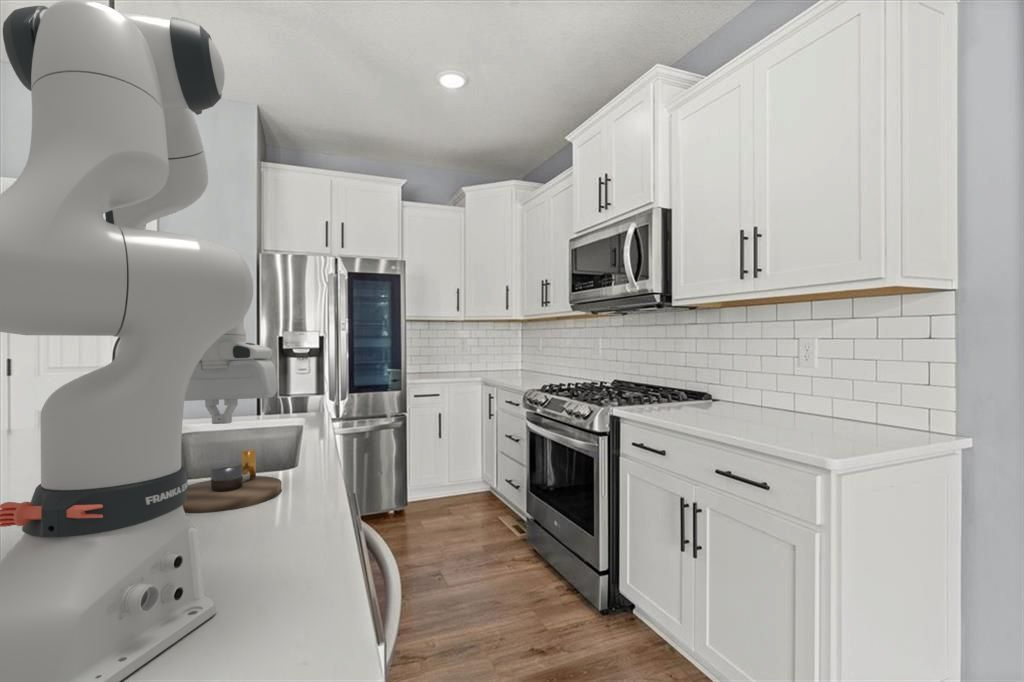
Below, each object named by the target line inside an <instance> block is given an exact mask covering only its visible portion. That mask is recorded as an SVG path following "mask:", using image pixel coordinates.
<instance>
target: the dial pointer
mask: <svg viewBox="0 0 1024 682" xmlns="http://www.w3.org/2000/svg"><path fill="white" fill-rule="evenodd" d="M256 457H257V456H256V449H251V448H250V449H243V450H242V451H241V463H227V464H226V463H225V464H219V465H215V466H212V467H210V480H211V489H212V490H216V491H222V490H230V489H235V488H239V487H241V486H242V485H243V482H244V481H246V480H249V479H252V478H255V477H256V476H257V474H256V473H257V466H256V464H257V463H256V462H257V460H256Z"/></svg>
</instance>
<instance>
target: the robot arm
mask: <svg viewBox="0 0 1024 682" xmlns="http://www.w3.org/2000/svg"><path fill="white" fill-rule="evenodd" d="M2 38H3V43H4V49H5V53H6V57H7V59H8V61H9V63H10V66H11V67H12V69H13V71H14V73H15V75H16V76H17V78H18V80H19V81H20V83H21V84H22V85H23V87H25V88H26V90H28V91H29V92H31V131H30V132H31V134H30V135H31V136H30V145H29V146H30V148H29V153H28V157H27V160H26V164H25V166H24V168H23V170H22V172H21V173H20V175H19V176H18V178H16V180H15V181H14V182H13V183H12V184H11V185H10V186H8V187H7V189H5V190H4V191H3V192H2V193H0V333H7V334H12V335H21V336H77V337H78V336H82V337H83V336H86V337H89V336H90V337H91V336H93V337H94V336H95V337H97V336H100V337H101V336H104V337H106V336H107V337H108V336H110V337H115V338H120V346H119V349H118V353H117V354H116V355H115V358H114V359H113V360H112V361H111V362H110V363H108V364H107V365H105V366H103V367H100V368H97V369H95V370H92V371H90V372H88V373H85V374H84V375H81V376H79V377H77V378H74V379H72V380H70V381H69V382H67V383H65V384H63V385H62V386H60V387H58V388H57V389H56V390H54V392H52V393H51V394H50V395H49V396H48V398H47V399H46V401H45V403H44V404H43V406H42V408H41V410H40V415H39V416H40V417H39V418H40V484H38V485H37V486H36V488H35V489H34V492H33V494H32V497H31V500H30V501H23V502H16V501H15V502H14V501H13V502H12V501H6V502H3V503H1V504H0V528H3V527H4V528H6V527H11V526H17V527H21V531H22V532H23V535H22V537H20V539H19V540H18V541H17V543H16V544H15V545H13V547H12V548H11V549H10V550H9V551H8V552H7V553H6V555H5V556H3V558H2V559H1V560H0V682H121V681H122V680H123V679H125V678H127V677H128V676H129V675H131V674H132V673H134V672H135V671H137V670H138V669H140V668H141V667H143V666H144V665H145V664H146V663H148V662H149V661H150V660H152V659H153V658H155V657H156V656H157V655H159V654H161V653H162V652H163V651H165V650H167V648H169V647H171V646H172V645H173V644H175V643H176V642H178V641H179V640H181V639H182V638H183V637H185V636H186V635H188V633H190V632H191V631H193V630H195V629H196V628H197V627H199V626H200V625H202V624H203V623H204V622H206V621H207V620H209V619H210V618H212V617H213V616H214V615H215V614H216V612H217V610H216V608H217V607H216V602H215V600H214V599H212V598H210V597H209V596H207V595H205V588H204V578H203V569H202V560H201V553H200V543H199V534H198V531H197V529H196V528H195V526H194V525H192V523H191V521H190V520H189V518H188V516H187V514H186V512H185V511H184V509H183V504H184V503H185V502H186V500H187V487H188V485H189V484H188V483H189V482H188V480H189V479H188V478H187V469H186V467H184V466H183V465H182V434H183V432H182V431H183V419H184V418H183V417H184V408H185V407H184V406H185V402H193V401H194V402H195V401H204V406H205V408H206V410H207V411H208V413H209V414H210V415H211V424H212V425H223V424H224V425H226V424H232V423H233V413H234V411H235V410H236V408H237V406H238V403H239V402H238V400H247V399H251V400H252V399H268V398H273V397H274V396H275V395H276V394H277V391H278V381H277V379H278V378H277V371H276V367H275V364H274V363H273V361H271V360H270V359H271V358H273V357H272V356H273V350H272V348H270V347H267V346H263V345H260V344H256V343H252V342H250V341H249V342H248V341H247V332H246V329H245V325H244V322H245V321H244V319H245V317H246V315H247V314H248V312H249V310H250V308H251V305H252V302H253V297H254V280H253V276H252V272H251V269H250V268H249V266H248V264H247V262H246V261H245V259H244V258H243V257H242V255H241V254H240V253H239V252H238V251H237V250H236V249H235V248H232V247H229V246H226V245H223V244H220V243H218V242H215V241H210V240H207V239H205V238H200V237H198V236H194V235H190V234H183V233H175V232H168V231H159V230H152V229H146V226H147V224H149V223H151V222H153V221H156V220H159V219H161V218H163V217H164V218H165V217H167V216H169V215H173V214H176V213H178V212H180V211H183V210H184V209H187V208H188V207H190V206H192V205H193V204H194V203H196V202H197V201H199V199H200V198H201V197H202V196H203V194H204V192H205V191H206V189H207V186H208V184H209V171H208V164H207V160H206V154H205V151H204V146H203V141H202V137H201V133H200V131H199V127H198V124H197V121H196V118H195V115H196V116H198V115H201V114H202V113H203V111H204V110H208V109H210V108H213V107H214V106H215V105H216V104H217V103H218V102H219V101H220V100H221V99H222V94H223V93H222V92H223V88H224V84H225V67H224V63H223V60H222V56H221V54H220V52H219V50H218V48H217V47H216V44H215V43H214V41H213V40H212V38H211V34H209V32H208V31H206V29H205V28H204V27H203V26H201V24H198V23H196V22H194V21H193V22H192V21H189V20H186V19H183V18H178V17H175V16H171V18H170V19H169V18H165V17H159V16H155V15H149V14H144V13H138V12H130V11H122V10H121V11H120V10H116V9H114V8H112V7H111V6H108V5H105V4H103V3H101V2H97V1H93V0H60V1H58V2H56V3H53V4H51V5H50V6H49V7H47V6H45V5H33V6H26V7H25V6H24V7H20V8H17V9H14V10H13V11H11V13H10V14H9V15H8V16H7V17H6V19H5V20H4V22H3V25H2ZM194 114H195V115H194ZM104 216H105V217H104ZM220 400H224V406H226V408H225V410H224V412H223V413H221V412H220V410H219V408H218V405H220V402H219V401H220Z"/></svg>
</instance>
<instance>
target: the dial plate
mask: <svg viewBox="0 0 1024 682" xmlns="http://www.w3.org/2000/svg"><path fill="white" fill-rule="evenodd" d="M282 483H283V482H282V481H281V480H280V479H279V478H276V477H273V476H267V475H264V476H263V475H256V477H255V478H252V479H249V480H246V481H244V482H243V485H242V486H241V487H239V488H235V489H230V490H222V491H216V490H212V489H211V479H210V480H205V481H204V480H203V481H199V482H195V483H192V484H191V483H190V484H188V487H187V500H186V502H185V503H184V504H183V509H184V511H185V513H189V514H190V513H195V514H196V513H197V514H199V513H213V512H223V511H230V510H231V511H232V510H236V509H241V508H247V507H250V506H255V505H257V504H261V503H264V502H267V501H271V500H272V499H275V498H276V497H277V496H279V495H280V494H281V493H282V490H283V489H282V486H283V485H282Z"/></svg>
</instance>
